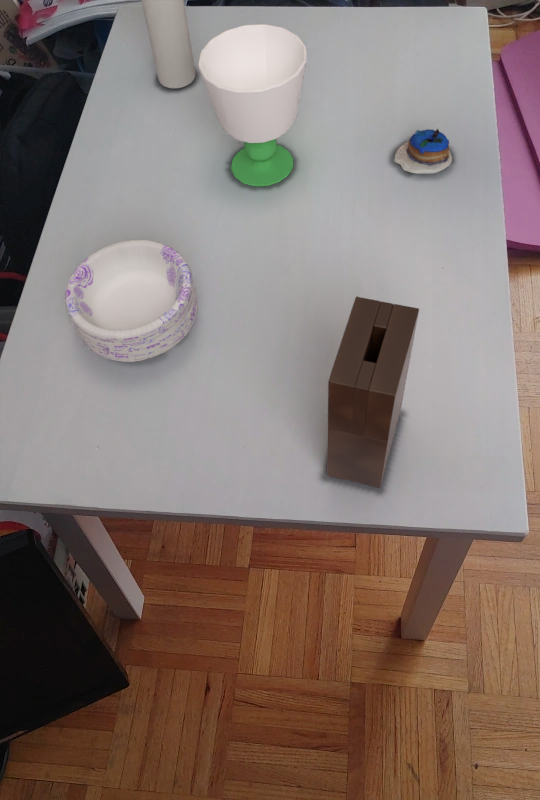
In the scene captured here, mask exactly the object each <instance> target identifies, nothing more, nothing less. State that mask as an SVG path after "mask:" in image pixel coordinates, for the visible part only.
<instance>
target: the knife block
mask: <svg viewBox="0 0 540 800" xmlns="http://www.w3.org/2000/svg"><path fill="white" fill-rule="evenodd" d="M419 313H420V308H419V307H413V306H408V305H403V304H397V303H391V302H387V301H381V300H377V299H371V298H366V297H360V296H355V298H354V301H353V304H352V308H351V310H350V313H349V316H348V317H349V318H348V320H347V323H346V325H345V329H344V331H343V334H342V338H341V341H340V344H339V347H338V350H337V353H336V356H335V360H334V363H333V365H332V368H331V372H330V375H329V378H328V380H327V445H326V446H327V456H326V457H327V458H326V475H327V476H328V477H332V478H336V479H340V480H344V481H349V482H352V483H358V484H361V485H366V486H368V487H373V488H378V489H381V487H382V485H383V479H384V475H385V472H386V468H387V464H388V461H389V457H390V453H391V449H392V445H393V442H394V438H395V434H396V430H397V427H398V423H399V419H400V416H401V411H402V406H403V400H404V396H405V390H406V383H407V379H408V378H407V377H408V373H409V367H410V362H411V357H412V356H411V355H412V351H413V345H414V339H415V335H416V329H417V324H418V317H419Z"/></svg>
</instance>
